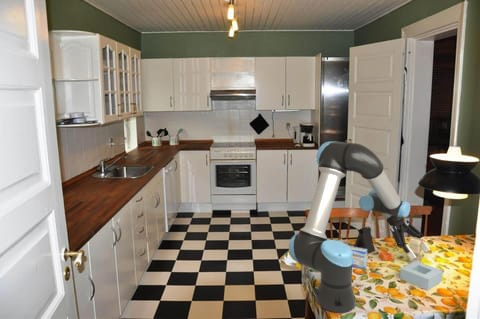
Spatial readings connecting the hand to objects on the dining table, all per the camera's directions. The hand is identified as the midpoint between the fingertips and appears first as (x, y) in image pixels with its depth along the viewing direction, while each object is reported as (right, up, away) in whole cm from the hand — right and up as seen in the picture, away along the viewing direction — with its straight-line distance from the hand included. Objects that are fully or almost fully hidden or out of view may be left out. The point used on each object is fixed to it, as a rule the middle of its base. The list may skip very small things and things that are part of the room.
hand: (421, 254), depth 167 cm
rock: (-13, -5, +8) cm, 16 cm away
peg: (-1, -5, +3) cm, 6 cm away
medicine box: (-30, -6, +1) cm, 30 cm away
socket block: (-7, -7, -13) cm, 17 cm away
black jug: (-20, -2, +19) cm, 28 cm away
